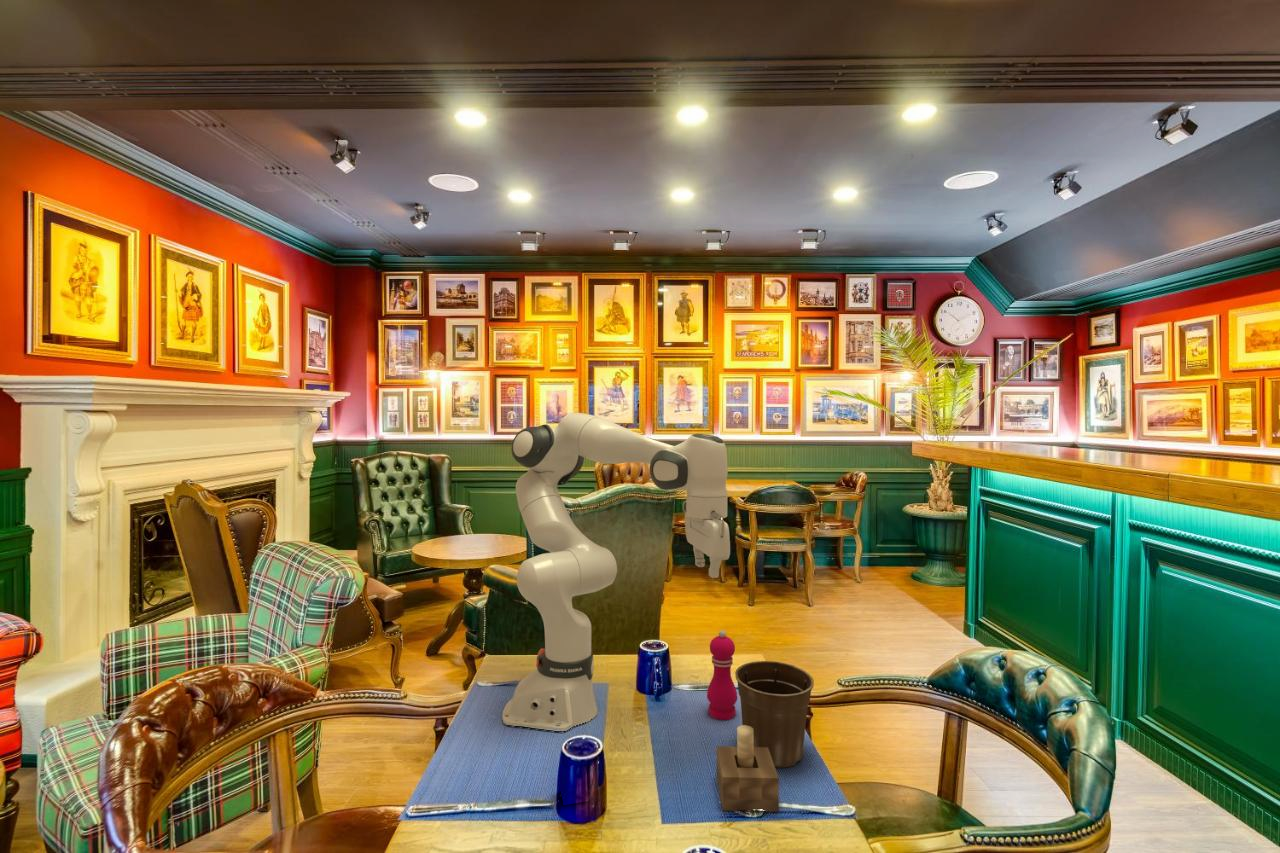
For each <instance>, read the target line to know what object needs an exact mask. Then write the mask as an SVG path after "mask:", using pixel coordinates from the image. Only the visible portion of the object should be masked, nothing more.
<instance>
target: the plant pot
mask: <svg viewBox="0 0 1280 853" xmlns="http://www.w3.org/2000/svg"><path fill="white" fill-rule="evenodd" d="M793 665H794V664H791V665H790V664H789V663H785V662H781V661H773V660H772V661H771V660H761V661H760V660H758V661H757V660H756V661H751V662H747V663H743V664H741V665H740V666H738V667H737V669H736V670H735V671H734V672H735V673H734V674H735V680H736V681H737V689H738V692H737V693H738V696H739V698H740V699H739V700H740V709H741V711H740V712H741V721H742V722H741V723H742V724H741V725H747V726H750V727H752V728H753V740H754V747H768V749H769V752H770V755H771V758H772V760H773V763H774V766H775V768H778V769H781V768H789V767H793V766H795V765H796V764H797V763H798V762H800V761H802V759H803V754H804V742H805V732H806V724H807V714H808V707H809V705H810V701H811V694H812V693H811V692H812V690H813V688H814V686H815V681H814V678H813V676H812V675H811V674H810V673H809V672H807V671H806V670H804V669H802V668H800V667H798V666H793Z"/></svg>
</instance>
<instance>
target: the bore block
mask: <svg viewBox="0 0 1280 853" xmlns="http://www.w3.org/2000/svg"><path fill="white" fill-rule="evenodd" d="M779 780H780V778H779V775H778V772H777V769H776V767H775V766H774V763H773V760H772V758H771V755H770V752H769V749H768V747H754V768H738V767H737V746H723V745H722V746H720V745H719V746H718V745H717V746H716V781H717V787H718V788H717V789H718V792H719V793H718V794H719V799H720V803H721V805H720V806H721V810H722V811H727V812H729V811H730V812H731V811H732V812H739V811H738V810H742V811H741V812H747V811H746V810H753V809H763V810H766V812H767V813H768V811H769V812H770V813H772V812H774V813H775V812H776V813H778V812H779V810H780V808H779V806H780V805H779V803H780V802H779V800H780V799H779V798H780V796H779V792H780V781H779ZM743 810H745V811H743Z"/></svg>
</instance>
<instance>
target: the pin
mask: <svg viewBox="0 0 1280 853" xmlns="http://www.w3.org/2000/svg"><path fill="white" fill-rule="evenodd" d="M736 741H737V743H736V747H737V767H738V768H754V740H753V728H752V727H750V726H747V725H742V724H741V725H739V726H737V728H736Z"/></svg>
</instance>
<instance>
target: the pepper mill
mask: <svg viewBox="0 0 1280 853" xmlns="http://www.w3.org/2000/svg"><path fill="white" fill-rule="evenodd" d="M709 651H710V653H711V655H712V656H711V663H712V665H713V675H712V677H711V680H710V682H709V684H708V687H707V690H706V699H707V701H708V702H709V704H708V714H709V716H710V717H711V718H713V719H715V720H720V721H728V720H732V719H734V718H735V716H736V706H735V704H736V703H737V701H738V692H737V689H736V688H737V687H736V686H735V683H734V680H733V678H732V674H731V667H732V666H733V664H734V658H733V655H734V654H735V652H736V646H735V643H734V641H733V639H731V638H730V637H728V636H727V632H726V631H725V630H723V629H721V630H720V631H719V632H718V635H717V636H715V637H713V639H711V641H710V644H709Z"/></svg>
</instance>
